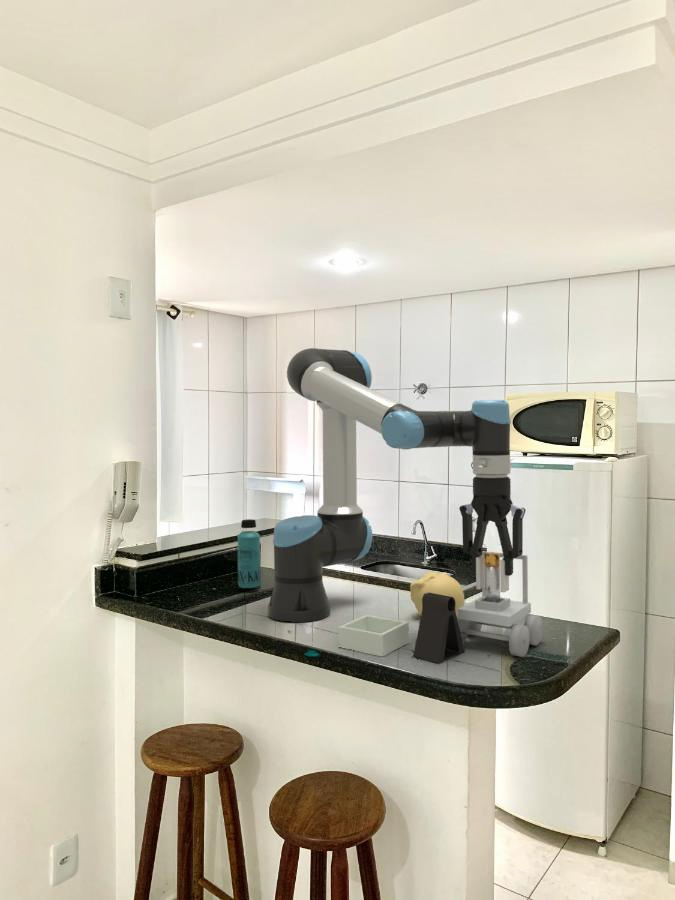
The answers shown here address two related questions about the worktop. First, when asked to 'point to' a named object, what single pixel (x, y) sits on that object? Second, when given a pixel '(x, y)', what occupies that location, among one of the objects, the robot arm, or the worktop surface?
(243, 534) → the beverage bottle
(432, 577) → the yellow rounded lump
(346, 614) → the worktop surface
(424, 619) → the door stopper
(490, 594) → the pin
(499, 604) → the trolley
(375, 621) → the tray
